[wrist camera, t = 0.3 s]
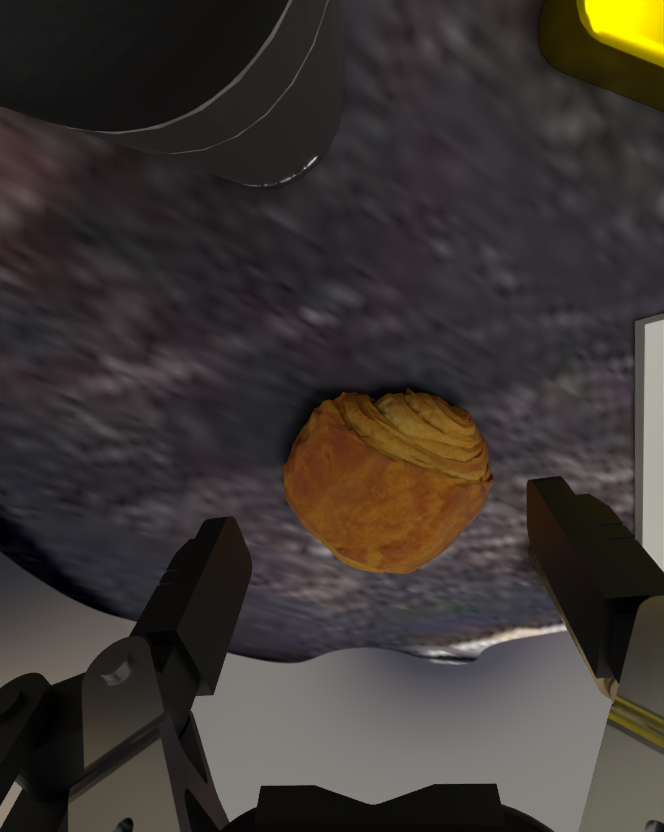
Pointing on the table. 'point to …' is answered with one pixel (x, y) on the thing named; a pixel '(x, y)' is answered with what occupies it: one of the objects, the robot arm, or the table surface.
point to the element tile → (608, 44)
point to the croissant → (387, 478)
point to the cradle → (649, 436)
